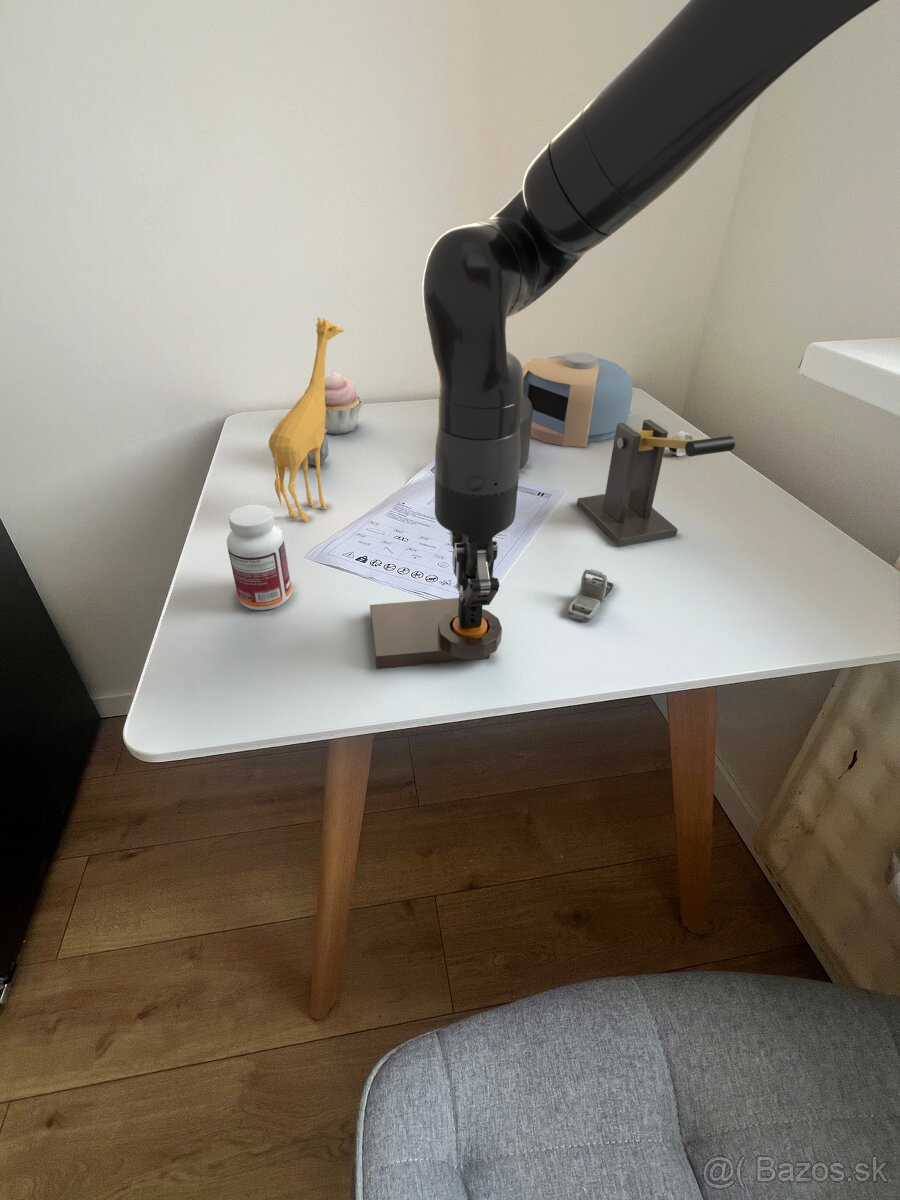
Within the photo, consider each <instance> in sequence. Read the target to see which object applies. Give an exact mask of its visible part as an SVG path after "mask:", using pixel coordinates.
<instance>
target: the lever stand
mask: <svg viewBox="0 0 900 1200" xmlns="http://www.w3.org/2000/svg"><path fill="white" fill-rule="evenodd" d="M641 430H650V431H653V437H661V438H668V435H669V431H667V429H665V428H663V427H662V426H661V425H659V424H657V423H656V422H654V421H653V420H652V419H644V420H643V421H642V427H641ZM636 431H637V430H635V429H634V428H632V427H630V426H629V425H627V423H626V424H625V423H617V427H616V433H615V436H614V440H613V445H612V452H611V458H610V464H609V469H608V474H607V475H608V476H607V481H606V487H605V493H603V494H596V495H589V496H584V497H577V501H576V506H577V507H578V508H579V509H580V510H581V511H582V512H583V513H584V514H585V515H586V516H587V517H588V518H589V519H590V520H591V521H592V522H593V523H594V525H595V526H597V527H598V528H599V529H600V530H601V532H602V533H604V534H605V535H606V536H607V537H608V539H610V540H611V541H612V542H613V543H614V544H615V545H616V546H617V547H624V546H629V545H635V544H641V543H647V542H652V541H658V540H664V539H668V538H674V537H677V534H678V530H679V529H678V528H677V527H676V526H675V525H674V524H673V523H671V521H669V520H668V519H667V518H665V517H664V516H663V515H662V514H660V513H659V512H658V511H657V510H656V509H655V508H654V507H653V505H654V500H655V495H656V491H657V486H658V481H659V476H660V472H661V468H662V464H663V463H662V462H663V459H664V454H665V449H666V447H655V446H653V450H645V451H638V450H639V444H640V439H641V435H640V434H639V433H637V432H636Z"/></svg>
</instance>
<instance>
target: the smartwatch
mask: <svg viewBox="0 0 900 1200" xmlns="http://www.w3.org/2000/svg"><path fill="white" fill-rule="evenodd" d="M683 437H685V438H684V439H690V440H694V437H693V435H692V434H691V433H690V432H688V431H686V430H680V431H678V432H677V433H675V434H674V436H672V437H671V438H675V439H683ZM668 450H669V452H671V453H672V454H674V455H675V456H676V457H677V456H678V457H683V456H685V455H687V454H686V452H685V449H678V448H668Z"/></svg>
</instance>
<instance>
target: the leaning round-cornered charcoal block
mask: <svg viewBox="0 0 900 1200" xmlns="http://www.w3.org/2000/svg"><path fill="white" fill-rule="evenodd" d="M532 412H533V408H532V404H531V401H530V400H529V398H528V397H527V396H526V395H525V394H524V393H523V399H522V410H521V422H520V443H521V455H520V467H519V472H520V471H521V470H523V468H524V467H525V466H526V464H527V463H528V460H529V456H530V455H529V454H530V444H531V436H530V434H531V423H532Z"/></svg>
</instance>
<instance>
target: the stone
mask: <svg viewBox="0 0 900 1200" xmlns="http://www.w3.org/2000/svg"><path fill="white" fill-rule="evenodd" d="M326 432H327V429H326V428H325V432H324V439H323V442H322V445H321V449H320V466H321V465H323V464H324V463H325V462H326V460H327V458H328V457H329V442H328V437H327V433H326ZM307 463H308V465H311V466H315V467H316V463H315V456H314V453H313V452H312V451H309V452H308V454H307Z"/></svg>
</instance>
